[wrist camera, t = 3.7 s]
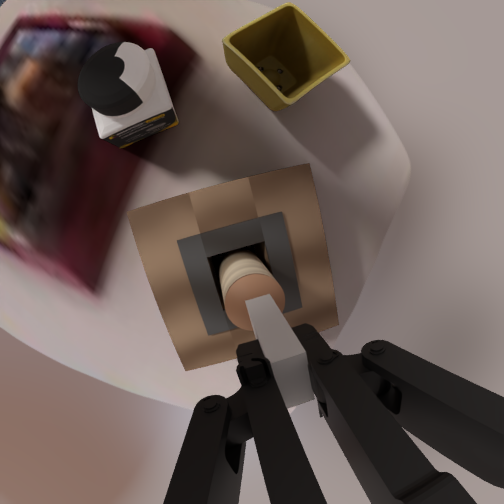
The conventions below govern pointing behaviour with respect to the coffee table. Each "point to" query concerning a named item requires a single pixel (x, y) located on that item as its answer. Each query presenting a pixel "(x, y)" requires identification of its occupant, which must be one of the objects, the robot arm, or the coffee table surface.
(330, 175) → the coffee table surface
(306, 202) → the socket block
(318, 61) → the flower pot
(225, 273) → the peg
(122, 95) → the medicine bottle
